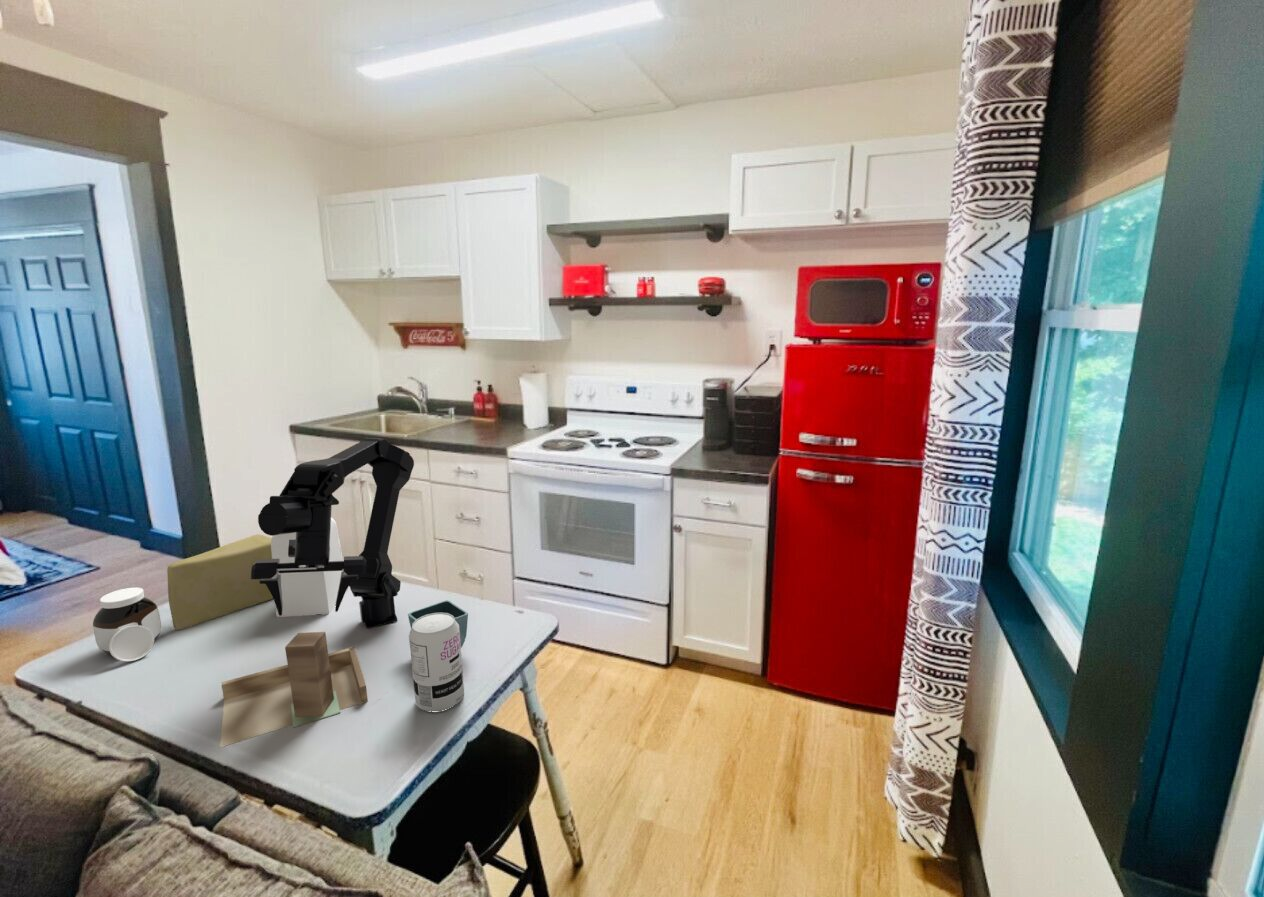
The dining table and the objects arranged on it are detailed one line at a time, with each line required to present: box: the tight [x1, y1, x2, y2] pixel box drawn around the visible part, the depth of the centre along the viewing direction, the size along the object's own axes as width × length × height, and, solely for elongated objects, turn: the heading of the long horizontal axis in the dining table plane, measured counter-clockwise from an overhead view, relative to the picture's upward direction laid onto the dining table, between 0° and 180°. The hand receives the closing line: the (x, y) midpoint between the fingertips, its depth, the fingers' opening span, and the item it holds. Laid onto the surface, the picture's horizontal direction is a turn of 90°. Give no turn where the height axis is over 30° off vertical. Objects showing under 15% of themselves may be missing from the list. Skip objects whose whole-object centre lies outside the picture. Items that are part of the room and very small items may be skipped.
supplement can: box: [408, 613, 465, 713], centre depth 103 cm, size 8×8×15 cm
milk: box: [271, 517, 349, 618], centre depth 138 cm, size 12×12×26 cm
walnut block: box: [284, 631, 334, 717], centre depth 100 cm, size 4×4×13 cm
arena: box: [219, 646, 369, 748], centre depth 104 cm, size 22×16×3 cm
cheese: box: [166, 534, 274, 631], centre depth 137 cm, size 22×10×15 cm, turn 150°
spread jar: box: [92, 587, 162, 662], centre depth 120 cm, size 12×11×12 cm
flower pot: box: [407, 599, 469, 649], centre depth 118 cm, size 9×9×9 cm
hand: (309, 613), depth 111 cm, fingers open, 9 cm apart
